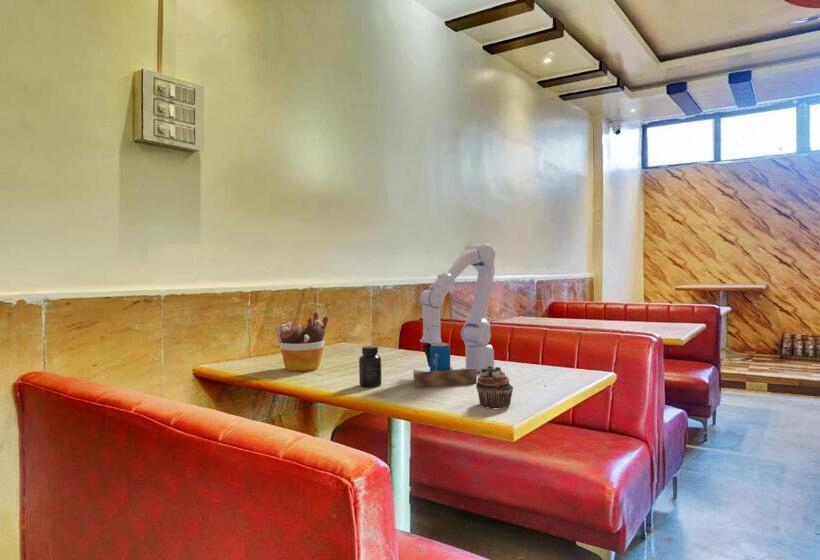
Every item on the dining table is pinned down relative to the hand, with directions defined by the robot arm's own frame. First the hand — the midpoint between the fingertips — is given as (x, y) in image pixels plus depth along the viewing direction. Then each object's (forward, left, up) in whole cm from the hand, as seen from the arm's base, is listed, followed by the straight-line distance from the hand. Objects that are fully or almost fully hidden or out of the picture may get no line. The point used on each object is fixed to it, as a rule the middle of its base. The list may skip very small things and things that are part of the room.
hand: (432, 366), depth 180 cm
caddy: (0, +7, -3) cm, 8 cm away
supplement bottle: (+22, +5, -4) cm, 23 cm away
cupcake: (-4, +39, -4) cm, 39 cm away
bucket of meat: (+39, -30, -4) cm, 49 cm away
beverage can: (0, +8, -4) cm, 8 cm away
